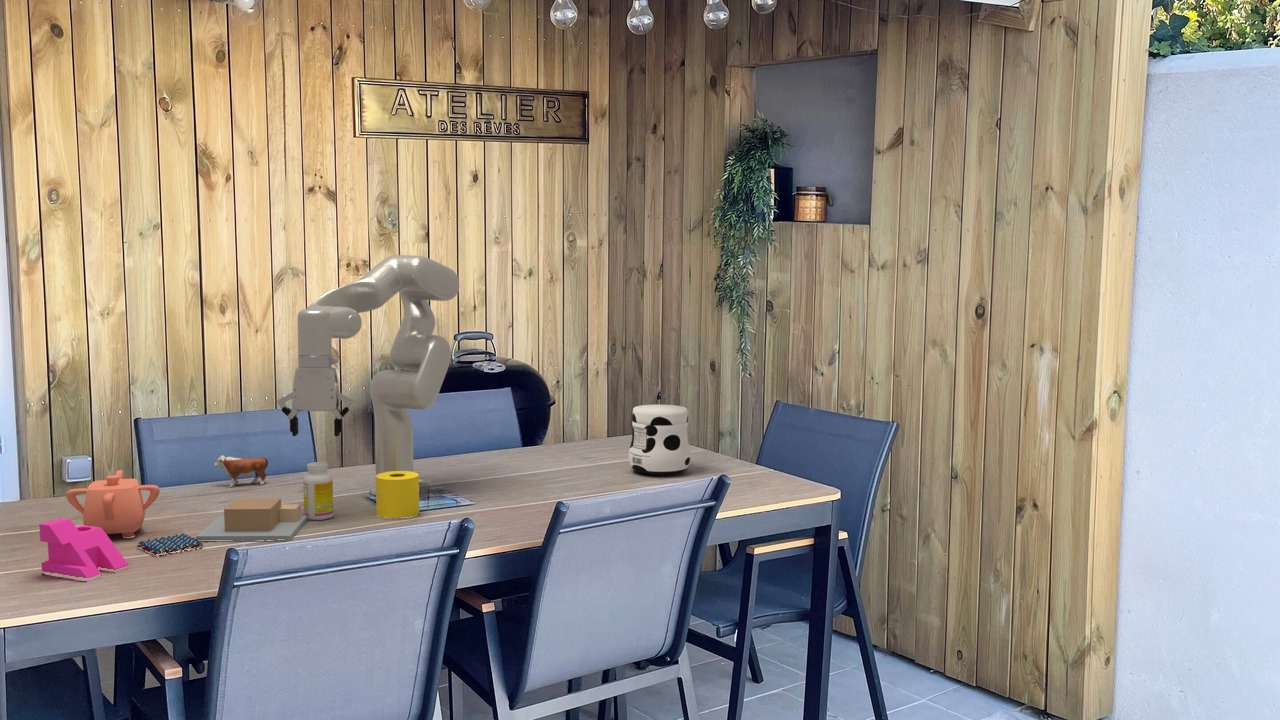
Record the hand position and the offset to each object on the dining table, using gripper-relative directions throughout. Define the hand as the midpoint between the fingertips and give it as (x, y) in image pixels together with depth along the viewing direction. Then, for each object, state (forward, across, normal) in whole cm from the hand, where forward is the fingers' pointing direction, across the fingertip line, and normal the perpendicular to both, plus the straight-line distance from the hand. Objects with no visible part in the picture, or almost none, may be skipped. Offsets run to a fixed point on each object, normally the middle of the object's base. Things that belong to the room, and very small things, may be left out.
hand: (316, 435), depth 282 cm
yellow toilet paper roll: (+20, -18, -3) cm, 27 cm away
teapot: (+20, +42, +13) cm, 48 cm away
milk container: (+19, -84, -50) cm, 100 cm away
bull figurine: (+20, +27, -36) cm, 49 cm away
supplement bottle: (+20, 0, 0) cm, 20 cm away
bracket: (+20, +37, +42) cm, 60 cm away
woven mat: (+21, +26, +26) cm, 42 cm away
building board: (+20, +12, +12) cm, 26 cm away
